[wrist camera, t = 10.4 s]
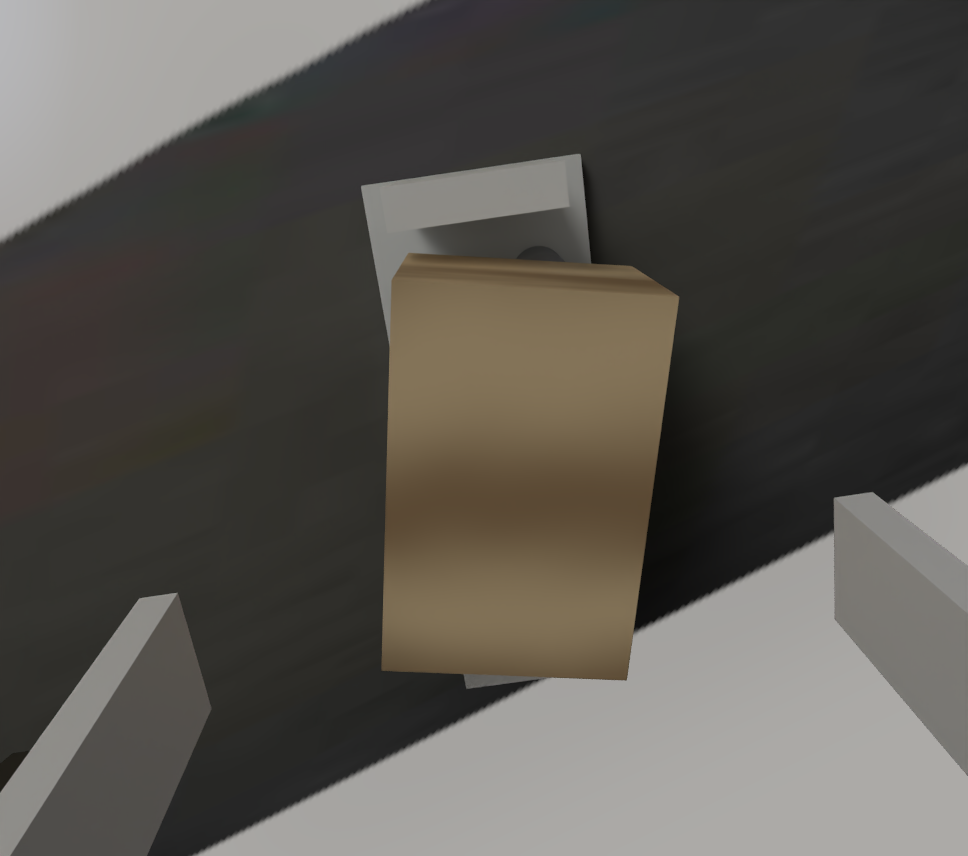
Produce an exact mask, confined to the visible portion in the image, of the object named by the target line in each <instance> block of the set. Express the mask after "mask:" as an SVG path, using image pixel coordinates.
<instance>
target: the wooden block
mask: <svg viewBox="0 0 968 856" xmlns="http://www.w3.org/2000/svg"><path fill="white" fill-rule="evenodd" d="M678 302H679V297H678V296H677V295H675V294H674V293H672V292H671V291H669V290H668V289H666V288H665V287H663V286H662V285H660V284H658V283H657V282H655V281H654V280H652V279H651V278H649V277H648V276H646V275H645V274H643V273H642V272H640V271H638V270H637V269H635V268H634V267H632V266H622V265H605V264H589V263H572V262H555V261H539V260H522V259H505V258H489V257H472V256H455V255H438V254H422V253H408V254H407V256H406V257H405V259H404V261H403V262H402V264H401V266H400V267H399V269H398V270H397V272H396V274H395V275H394V277H393V279H392V280H391V320H390V359H389V399H388V438H387V478H386V517H385V557H384V596H383V636H382V671H403V672H428V673H453V674H478V675H503V676H528V677H553V678H579V679H581V678H582V679H605V680H627V675H628V668H629V660H630V653H631V646H632V638H633V631H634V624H635V616H636V609H637V602H638V594H639V587H640V580H641V572H642V565H643V558H644V551H645V543H646V536H647V529H648V521H649V514H650V507H651V499H652V492H653V485H654V477H655V470H656V463H657V456H658V448H659V441H660V434H661V426H662V419H663V412H664V404H665V397H666V390H667V382H668V375H669V368H670V360H671V353H672V346H673V339H674V331H675V324H676V317H677V309H678Z"/></svg>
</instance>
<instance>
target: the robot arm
mask: <svg viewBox="0 0 968 856" xmlns="http://www.w3.org/2000/svg"><path fill="white" fill-rule="evenodd" d="M834 569H835V571H834V573H835V574H834V577H835V579H834V580H835V620H836V621H837V622H838V623H839V625H840V626H841V627H842V628H843V629H844V631H845V632H846V633H847V634H848V635H849V636H850V637H851V639H852V640H853V641H854V642H855V643H856V645H857V646H858V647H859V648H860V649H861V651H862V652H863V653H864V654H865V655H866V656H867V657H868V659H869V660H870V661H871V662H872V664H873V665H874V666H875V667H876V668H877V669H878V671H879V672H880V673H881V674H882V675H883V677H884V678H885V679H886V680H887V681H888V682H889V684H890V685H891V686H892V687H893V688H894V690H895V691H896V692H897V693H898V694H899V695H900V697H901V698H902V699H903V700H904V701H905V702H906V704H907V705H908V706H909V707H910V708H911V709H912V711H913V712H914V713H915V714H916V716H917V717H918V718H919V719H920V720H921V721H922V723H923V724H924V725H925V726H926V727H927V728H928V729H929V731H930V732H931V733H932V734H933V736H934V737H935V738H936V739H937V740H938V741H939V743H940V744H941V745H942V746H943V747H944V749H945V750H946V751H947V752H948V753H949V754H950V756H951V757H952V758H953V759H954V760H955V762H956V763H957V764H958V765H959V766H960V767H961V769H962V770H963V771H964V772H965V773H966V774H967V776H968V566H967V565H966V564H965V563H963V562H962V561H961V560H959V559H958V558H957V557H955V556H954V555H953V554H952V553H950V552H949V551H948V550H946V549H945V548H944V547H942V546H941V545H940V544H938V543H937V542H936V541H935V540H934V539H932V538H931V537H930V536H928V535H927V534H926V533H924V532H923V531H922V530H921V529H919V528H918V527H917V526H915V525H914V524H913V523H912V522H910V521H909V520H908V519H906V518H905V517H904V516H902V515H901V514H900V513H899V512H897V511H896V510H895V509H894V508H892V507H891V506H890V505H888V504H887V503H886V502H885V501H883V500H882V499H881V498H879V497H878V496H877V495H875V494H874V493H873V492H871V493H864V494H857V495H850V496H843V497H836V498H834ZM210 711H211V706H210V702H209V699H208V695H207V692H206V688H205V685H204V682H203V678H202V675H201V671H200V668H199V664H198V661H197V658H196V654H195V651H194V647H193V644H192V640H191V637H190V634H189V630H188V627H187V623H186V620H185V616H184V613H183V610H182V606H181V603H180V599H179V596H178V593H173V594H166V595H160V596H153V597H146V598H139V600H138V601H137V603H136V604H135V605H134V607H133V608H132V610H131V611H130V612H129V614H128V615H127V617H126V618H125V619H124V621H123V622H122V624H121V625H120V626H119V628H118V629H117V631H116V632H115V633H114V635H113V636H112V637H111V639H110V640H109V642H108V643H107V644H106V646H105V647H104V649H103V650H102V651H101V653H100V654H99V656H98V657H97V658H96V660H95V661H94V663H93V664H92V665H91V667H90V668H89V670H88V671H87V672H86V674H85V675H84V677H83V678H82V679H81V681H80V682H79V684H78V685H77V686H76V688H75V689H74V690H73V692H72V693H71V695H70V696H69V697H68V699H67V700H66V702H65V703H64V704H63V706H62V707H61V709H60V710H59V711H58V713H57V714H56V716H55V717H54V718H53V720H52V721H51V723H50V724H49V725H48V727H47V728H46V730H45V731H44V732H43V734H42V735H41V737H40V738H39V739H38V741H37V742H36V743H35V745H34V746H33V748H32V749H31V750H30V751H25V752H18V753H13V754H11V755H10V756H9V757H8V758H7V759H5V760H4V761H3V762H2V763H0V856H147V854H148V852H149V850H150V847H151V845H152V843H153V841H154V838H155V836H156V834H157V831H158V829H159V827H160V825H161V822H162V820H163V818H164V815H165V813H166V811H167V809H168V806H169V804H170V802H171V800H172V797H173V795H174V793H175V790H176V788H177V786H178V784H179V781H180V779H181V777H182V775H183V772H184V770H185V768H186V765H187V763H188V761H189V759H190V756H191V754H192V752H193V749H194V747H195V745H196V743H197V740H198V738H199V736H200V734H201V731H202V729H203V727H204V724H205V722H206V720H207V718H208V715H209V713H210Z"/></svg>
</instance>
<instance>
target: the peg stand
mask: <svg viewBox="0 0 968 856" xmlns="http://www.w3.org/2000/svg"><path fill="white" fill-rule="evenodd" d="M361 190H362V195H363V201H364V206H365V212H366V217H367V223H368V228H369V234H370V239H371V245H372V250H373V256H374V262H375V267H376V273H377V278H378V284H379V289H380V295H381V300H382V306H383V311H384V317H385V323H386V328H387V334H388V339H389V345H390V320H391V280H392V279H393V277H394V275H395V274H396V272H397V270H398V269H399V267H400V266H401V264H402V262H403V261H404V259H405V257H406V256H407V254H408V253H422V254H438V255H455V256H472V257H489V258H505V259H522V260H539V261H555V262H572V263H589V264H591V256H590V246H589V236H588V225H587V215H586V205H585V194H584V184H583V174H582V163H581V154H574V155H567V156H561V157H554V158H547V159H540V160H533V161H527V162H520V163H513V164H506V165H500V166H493V167H486V168H479V169H472V170H466V171H459V172H452V173H445V174H438V175H432V176H425V177H418V178H411V179H404V180H398V181H391V182H384V183H377V184H370V185H364V186H361ZM464 678H465V684H466V689H468V688H476V687H483V686H491V685H499V684H506V683H514V682H521V681H529V680H536V679H544V678H552V677H528V676H503V675H478V674H464Z"/></svg>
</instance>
